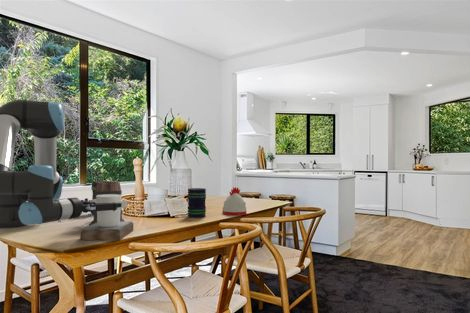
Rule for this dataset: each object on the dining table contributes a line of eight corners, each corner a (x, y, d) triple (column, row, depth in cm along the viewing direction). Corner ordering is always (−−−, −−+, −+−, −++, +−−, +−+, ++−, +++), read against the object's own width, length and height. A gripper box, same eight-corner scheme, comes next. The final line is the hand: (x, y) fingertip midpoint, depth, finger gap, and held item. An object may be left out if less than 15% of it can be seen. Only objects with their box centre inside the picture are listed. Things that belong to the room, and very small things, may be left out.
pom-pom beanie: (251, 213, 204) (251, 187, 204) (235, 216, 194) (235, 188, 194) (234, 210, 213) (234, 186, 213) (217, 213, 203) (217, 187, 203)
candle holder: (113, 227, 136) (113, 197, 136) (90, 226, 138) (90, 196, 138) (126, 223, 146) (126, 194, 146) (104, 222, 148) (105, 194, 148)
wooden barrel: (94, 215, 192) (94, 181, 192) (89, 213, 197) (89, 180, 198) (111, 213, 198) (112, 180, 198) (105, 212, 204) (106, 180, 204)
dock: (80, 239, 133) (80, 229, 133) (98, 230, 151) (98, 221, 151) (120, 240, 133) (120, 229, 133) (133, 230, 151) (133, 221, 151)
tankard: (132, 225, 164) (133, 182, 164) (96, 229, 152) (96, 183, 153) (112, 218, 181) (113, 180, 181) (78, 222, 170) (79, 181, 170)
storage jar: (184, 217, 187) (184, 189, 187) (191, 214, 196) (191, 188, 197) (202, 218, 184) (202, 189, 185) (208, 215, 194) (208, 188, 194)
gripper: (45, 216, 132) (93, 209, 150) (90, 222, 120) (135, 214, 138) (45, 196, 132) (93, 192, 150) (90, 200, 120) (136, 195, 138)
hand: (113, 202), depth 144 cm, fingers open, 13 cm apart
